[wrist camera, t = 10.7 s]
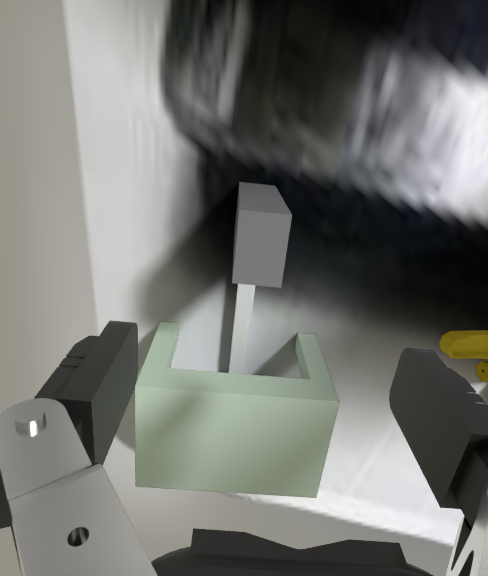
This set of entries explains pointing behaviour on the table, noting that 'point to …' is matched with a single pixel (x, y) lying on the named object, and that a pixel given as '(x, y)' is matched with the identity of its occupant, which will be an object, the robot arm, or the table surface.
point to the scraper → (256, 256)
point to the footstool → (232, 424)
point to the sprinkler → (468, 348)
